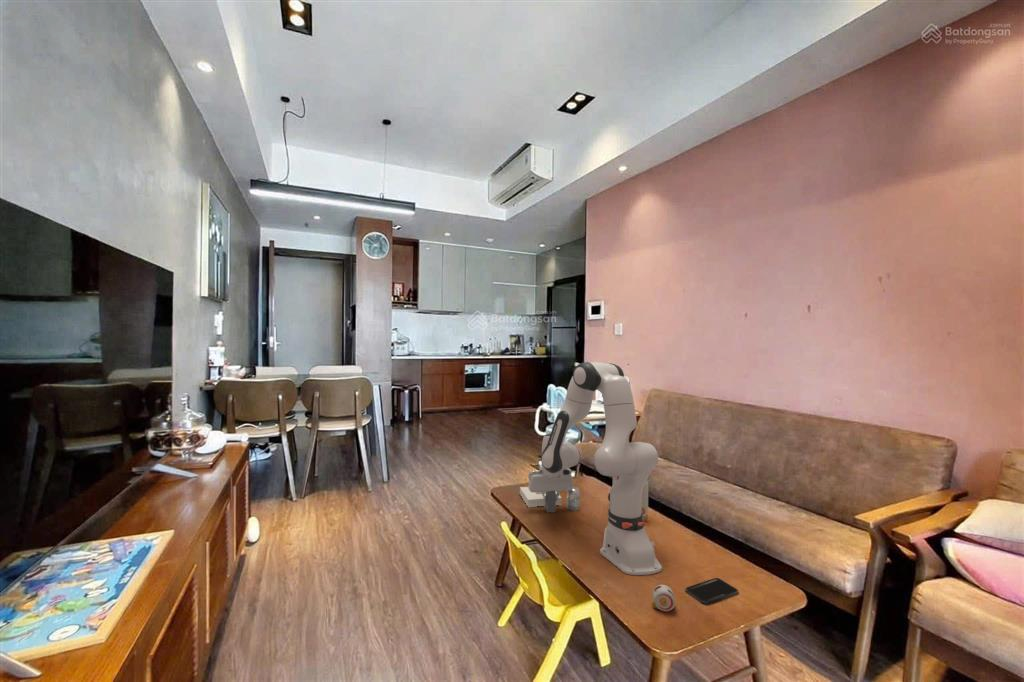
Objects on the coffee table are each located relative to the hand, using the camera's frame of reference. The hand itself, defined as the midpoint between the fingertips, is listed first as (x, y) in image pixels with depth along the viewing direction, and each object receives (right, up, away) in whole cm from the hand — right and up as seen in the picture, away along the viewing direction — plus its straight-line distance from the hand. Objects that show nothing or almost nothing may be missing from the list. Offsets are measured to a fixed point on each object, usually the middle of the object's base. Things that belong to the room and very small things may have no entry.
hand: (550, 500), depth 181 cm
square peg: (0, -5, 0) cm, 4 cm away
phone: (+44, -6, -57) cm, 72 cm away
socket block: (-4, -4, +13) cm, 14 cm away
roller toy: (+26, -5, -65) cm, 70 cm away
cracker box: (+33, -6, -7) cm, 34 cm away
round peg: (+10, -5, +3) cm, 12 cm away
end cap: (+33, -6, +5) cm, 33 cm away
